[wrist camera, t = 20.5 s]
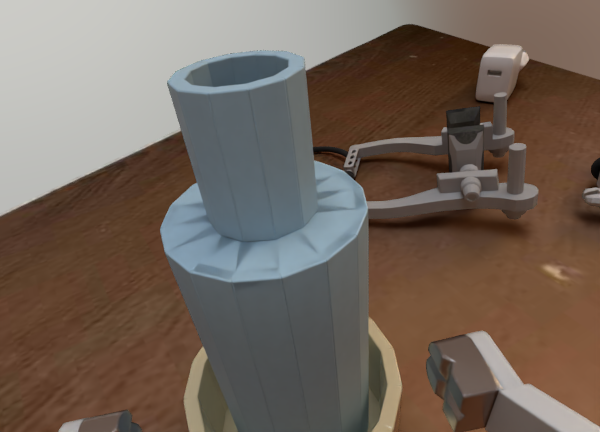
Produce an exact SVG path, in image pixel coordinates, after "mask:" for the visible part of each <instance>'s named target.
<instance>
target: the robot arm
mask: <svg viewBox="0 0 600 432" xmlns="http://www.w3.org/2000/svg"><path fill="white" fill-rule="evenodd" d="M428 351H429V353H430V355H431V356H430V357H429V358H428V359H427V362H426V370H427V375H428V379H429V382H430V384H431V387H432V389H433V391H434V393H435V394H436V395H437V396H439V397H440V398H442V399H443V400H444V403H443V409H442V410H443V412H444V414H445V416H446V418H447V420H448V422H449V424H450V426H451V428H452V430H453V432H466V431H470V430H475V429H480V428H485V427H486V428H485V430H487V431H488V432H600V427H599V426H598V425H596V424H594V423H593V422H591V421H589V420H588V419H586V418H585V417H583V416H581V415H580V414H578V413H576V412H575V411H573V410H571V409H570V408H568V407H567V406H565V405H563V404H562V403H560V402H558V401H557V400H555V399H554V398H552V397H550V396H549V395H547V394H545V393H544V392H542V391H541V390H539V389H537V388H536V387H534V386H532V385H531V384H525V385H524V384H523V382H522V381H521V380H520V378H519V377H518V375H517V374H516V373H515V371H514V370H513V368H512V367H511V365H510V364H509V363H508V361H507V360H506V358H505V357H504V356H503V354H502V353H501V351H500V350H499V348H498V347H497V346H496V344H495V343H494V341H493V340H492V338H491V337H490V336H489V334H488V333H486V332H485V331H478V332H473V333H469V334H463V335H459V336H455V337H451V338H447V339H442V340H438V341H434V342H431V343H430V344H429V348H428ZM131 421H132V415H131V413H130V412H129V411H128V410H122V411H118V412H113V413H109V414H104V415H100V416H95V417H91V418H84V419H80V420H75V421H71V422H67V423H64V424H63V425H62V427H61V428H60V430H59V431H58V432H142V429H141V427H140V426H139V424H136V423H133V422H131Z"/></svg>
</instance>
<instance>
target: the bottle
mask: <svg viewBox="0 0 600 432" xmlns="http://www.w3.org/2000/svg"><path fill="white" fill-rule="evenodd" d="M167 84H168V88H169V91H170V95H171V98H172V101H173V104H174V108H175V111H176V114H177V118H178V121H179V124H180V128H181V131H182V134H183V138H184V141H185V144H186V148H187V151H188V154H189V157H190V161H191V164H192V167H193V171H194V174H195V177H196V181H197V183H196V184H194V185H193V186H191V187H190V188H189V189H188V190H187V191H186V192H184V193H183V194H182V195H181V196H180V197H179V198H178V199H177V200H176V201H175V202H173V203H172V204H171V206H170V208H169V210H168V212H167V214H166V216H165V219H164V221H163V223H162V225H161V228H160V232H161V237H162V242H163V246H164V251H165V254H166V257H167V259H168V261H169V264H170V266H171V269H172V271H173V274H174V276H175V279H176V281H177V283H178V286H179V288H180V291H181V293H182V296H183V298H184V301H185V303H186V305H187V308H188V310H189V313H190V315H191V318H192V320H193V322H194V325H195V327H196V330H197V332H198V335H199V337H200V340H201V342H202V344H203V347H204V349H205V352H206V354H207V357H208V359H209V362H210V364H211V366H212V369H213V371H214V374H215V376H216V379H217V381H218V383H219V386H220V388H221V391H222V393H223V396H224V398H225V401H226V403H227V405H228V408H229V410H230V413H231V415H232V418H233V420H234V423H235V425H236V427H237V430H238V432H367V431H368V425H369V343H368V206H367V203H366V199H365V195H364V191H363V188H362V187H361V186H360V185H359V184H358V183H357V182H356V181H355V180H354V179H352V178H351V177H350V176H349V175H348V174H347V173H346V172H344V171H343V170H340V169H337V168H335V167H332V166H329V165H326V164H324V163H321V162H318V161H317V162H316V161H314V156H313V145H312V134H311V123H310V113H309V102H308V91H307V80H306V70H305V59H304V57H302V56H299V55H296V54H293V53H290V52H287V51H266V50H265V51H264V50H263V51H262V50H260V51H258V50H257V51H249V52H240V53H231V54H226V55H222V56H218V57H213V58H209V59H205V60H201V61H198V62H196V63H193V64H191V65H189V66H187V67H184V68H182V69H180V70H178V71H176V72H175V73H174V74H173V75H172V77H171V78H170V79H169V80H168V82H167Z"/></svg>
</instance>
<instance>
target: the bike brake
mask: <svg viewBox="0 0 600 432" xmlns="http://www.w3.org/2000/svg"><path fill="white" fill-rule="evenodd" d="M446 116H447V128H443V130H442V132H441V135H442V136H437V137H413V138H395V139H387V140H381V141H375V142H370V143H365V144H360V145H353V146H351V147H350V148H349V153H348V152H347V151H345V150H343V149H339V148H335V147H313V152H334V153H338V154H341V155H343V156H345V157H346V161H345V164H344V171H345V172H346V173H347V174H348V175H349V176H350V177H351V178H352V179H354V177H355V176H356V172H357V169H358V166H359V162H360V159H361V157H366V156H371V155H377V154H383V153H390V152H414V153H422V154H430V155H444V154H448V157H449V173H438V174H437V184H438V187H437V188H434V189H432V190H428V191H425V192H422V193H419V194H416V195H412V196H409V197H406V198H401V199H395V200H389V201H373V202H369V201H366V203H367V206H368V218H370V219H386V218H398V217H404V216H411V215H419V214H426V213H433V212H440V211H450V210H462V209H474V208H488V209H502V212H503V213H505V214H506V216H507V217H508V218H509V219H519V218H520V217H521V215H523V214H524V213H525V212H526V211H527V210H529V209H533V208H534V207H535V206H536V205H537V199H538V188H537V187H535V186H534V185H531V184H525V183H524V175H525V160H526V145H525V144H522V143H516V144H513V143H514V131H513V130H512V129H510V128H506V116H507V93H505V92H501V93H496V94H495V95H494V118H493V125H492V124H491V123H490V122H485V123H480V106H478V107H471V108H463V109H456V110H448V111H446ZM484 150H489V151H490V152H491V153H493V156H494V157H497V158H498V157H503V156H504V155H505V153H506V152H507V151H508V150H509V163H508V181H507V183H499V180H498V170H497V169H493V170H484ZM355 160H358V161H357V162H356V161H355ZM349 162H350V163H349ZM348 163H349V165H348ZM354 165H356V167H355V168H354Z"/></svg>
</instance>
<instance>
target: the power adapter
mask: <svg viewBox="0 0 600 432" xmlns="http://www.w3.org/2000/svg"><path fill="white" fill-rule="evenodd" d="M528 60H529V57H528V55H527V53H526V51H523V48H522V47H521V46H517V45H494V46H492V47H491V48H489V49H488V50H487V51H486V53H485V54H484V55H483V57H482V59H481V64H480V69H479V75H478V81H477V88H476V99H477V100H480V101H487V102H494V95H495V94H496V93H501V92H505V93H507V99H508V98H509V96H510V95H511V93H512V92H513V90H514V88H515V85H516V81H517V77H518V73H519V71H520V70H521V69H522V68H523V67H524V66H525V65H526V63H527V62H528Z"/></svg>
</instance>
